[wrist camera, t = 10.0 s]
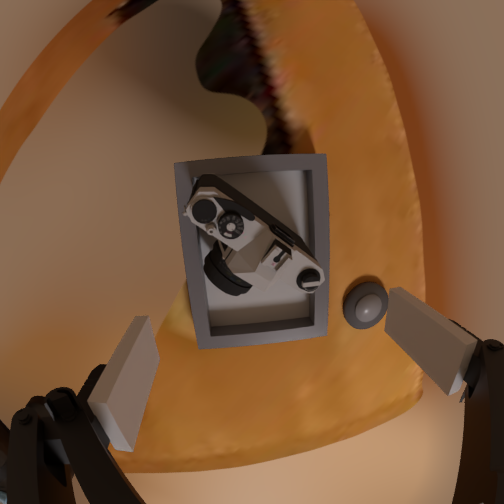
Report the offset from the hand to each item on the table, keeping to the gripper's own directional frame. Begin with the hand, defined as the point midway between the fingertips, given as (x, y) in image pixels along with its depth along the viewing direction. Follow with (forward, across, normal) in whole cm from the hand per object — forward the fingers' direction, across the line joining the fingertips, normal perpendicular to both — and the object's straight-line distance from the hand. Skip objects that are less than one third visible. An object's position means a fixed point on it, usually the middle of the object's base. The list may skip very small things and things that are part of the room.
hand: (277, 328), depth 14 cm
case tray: (+16, +1, 0) cm, 16 cm away
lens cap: (+16, +14, -8) cm, 22 cm away
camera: (+14, -1, +2) cm, 15 cm away
